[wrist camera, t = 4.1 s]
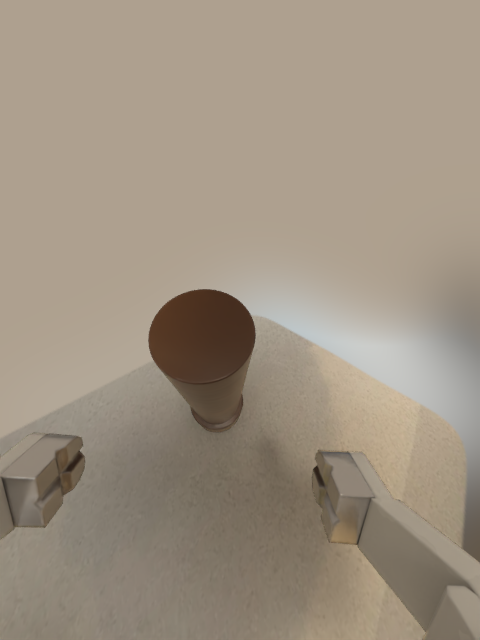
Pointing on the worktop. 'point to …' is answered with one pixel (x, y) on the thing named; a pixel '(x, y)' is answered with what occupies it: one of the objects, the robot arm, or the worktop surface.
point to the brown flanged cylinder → (205, 353)
